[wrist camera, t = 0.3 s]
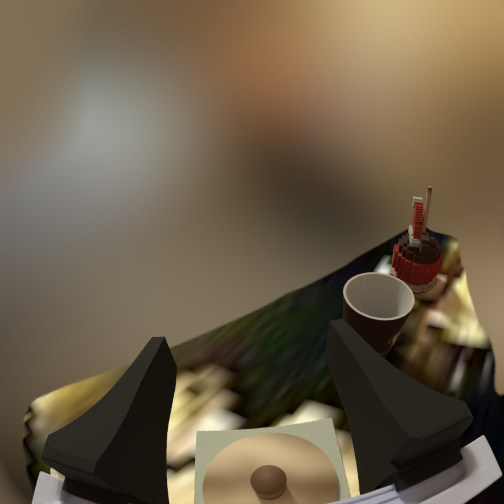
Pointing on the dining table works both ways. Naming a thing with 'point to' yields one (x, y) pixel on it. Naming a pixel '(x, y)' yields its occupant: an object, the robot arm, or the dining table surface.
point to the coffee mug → (377, 308)
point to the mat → (313, 432)
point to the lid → (270, 472)
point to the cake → (417, 252)
